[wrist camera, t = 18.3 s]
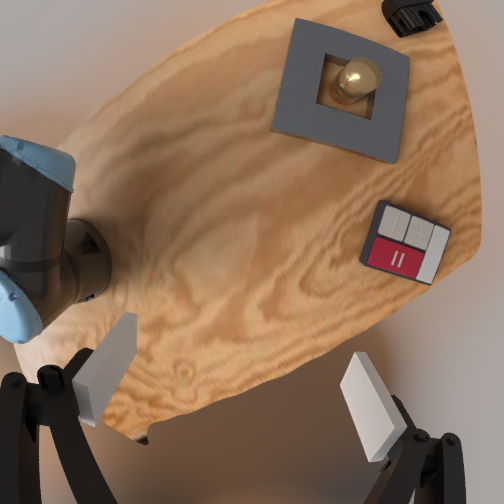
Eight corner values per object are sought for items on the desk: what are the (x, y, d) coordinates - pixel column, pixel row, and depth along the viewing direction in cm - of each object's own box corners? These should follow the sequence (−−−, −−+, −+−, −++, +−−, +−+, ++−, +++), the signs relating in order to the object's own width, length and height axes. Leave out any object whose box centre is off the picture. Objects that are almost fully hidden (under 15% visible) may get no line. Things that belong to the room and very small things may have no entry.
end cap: (409, 1, 34) (424, -12, 28) (429, 29, 36) (447, 17, 30) (375, 9, 36) (389, -7, 29) (397, 39, 37) (414, 25, 31)
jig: (270, 131, 43) (271, 128, 40) (293, 25, 37) (295, 17, 35) (387, 164, 44) (395, 164, 41) (401, 62, 39) (409, 57, 36)
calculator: (386, 201, 42) (454, 230, 42) (376, 198, 46) (441, 225, 47) (364, 266, 45) (433, 287, 45) (356, 259, 49) (422, 280, 49)
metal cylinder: (326, 99, 41) (344, 82, 31) (330, 73, 40) (349, 51, 30) (355, 108, 41) (379, 95, 32) (359, 82, 40) (383, 64, 30)
